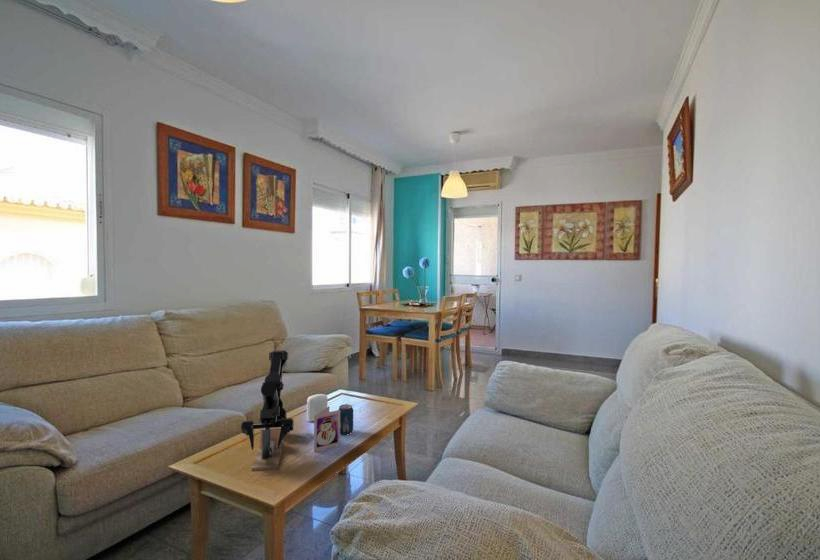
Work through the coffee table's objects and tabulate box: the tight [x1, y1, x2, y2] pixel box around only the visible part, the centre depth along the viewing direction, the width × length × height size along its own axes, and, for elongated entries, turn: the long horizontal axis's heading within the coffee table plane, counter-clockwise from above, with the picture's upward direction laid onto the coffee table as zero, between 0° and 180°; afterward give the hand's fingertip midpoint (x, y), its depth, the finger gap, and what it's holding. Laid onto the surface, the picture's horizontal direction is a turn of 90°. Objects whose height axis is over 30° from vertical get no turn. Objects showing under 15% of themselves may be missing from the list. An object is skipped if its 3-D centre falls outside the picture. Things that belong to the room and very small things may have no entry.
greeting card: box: [313, 406, 341, 453], centre depth 159 cm, size 11×7×15 cm, turn 126°
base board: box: [251, 441, 284, 471], centre depth 149 cm, size 20×9×1 cm, turn 12°
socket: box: [259, 427, 282, 449], centre depth 156 cm, size 4×8×8 cm, turn 102°
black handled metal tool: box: [262, 427, 272, 460], centre depth 148 cm, size 16×3×12 cm, turn 12°
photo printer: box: [306, 393, 329, 422], centre depth 187 cm, size 10×4×12 cm, turn 125°
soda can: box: [338, 403, 354, 436], centre depth 172 cm, size 7×7×12 cm
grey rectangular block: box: [261, 439, 276, 459], centre depth 149 cm, size 8×4×4 cm, turn 12°
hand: (265, 448), depth 140 cm, fingers open, 9 cm apart
